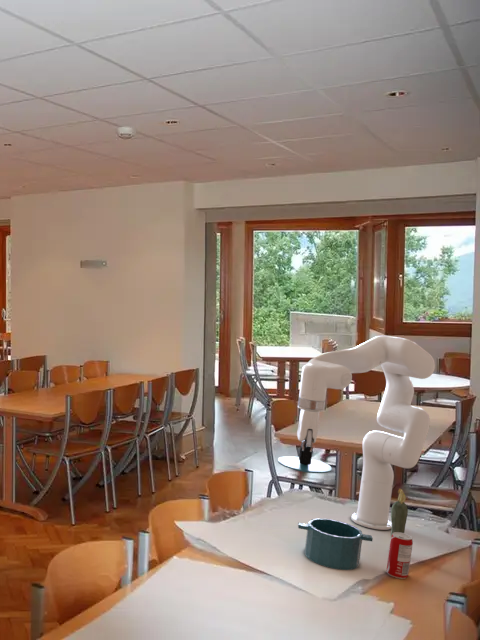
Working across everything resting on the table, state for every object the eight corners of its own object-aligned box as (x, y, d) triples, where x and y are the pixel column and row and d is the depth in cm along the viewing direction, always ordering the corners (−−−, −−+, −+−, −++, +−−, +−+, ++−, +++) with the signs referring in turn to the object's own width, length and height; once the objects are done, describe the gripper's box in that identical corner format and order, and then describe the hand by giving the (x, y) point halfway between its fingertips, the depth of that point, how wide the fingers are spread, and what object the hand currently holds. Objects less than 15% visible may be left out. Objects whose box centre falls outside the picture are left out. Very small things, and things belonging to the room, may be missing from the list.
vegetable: (403, 556, 226) (412, 493, 224) (388, 554, 227) (396, 491, 224) (399, 550, 230) (407, 488, 228) (384, 548, 231) (392, 486, 229)
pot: (294, 543, 230) (297, 513, 229) (365, 556, 224) (368, 526, 223) (296, 561, 217) (300, 530, 216) (372, 576, 210) (376, 543, 209)
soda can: (390, 569, 216) (395, 529, 215) (410, 576, 212) (416, 535, 211) (383, 574, 212) (388, 533, 211) (404, 581, 208) (409, 540, 207)
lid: (276, 456, 241) (278, 436, 240) (328, 464, 236) (331, 444, 236) (278, 470, 226) (280, 449, 225) (334, 478, 221) (336, 456, 221)
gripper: (296, 397, 238) (290, 453, 240) (300, 408, 222) (293, 467, 225) (322, 401, 235) (315, 457, 238) (327, 411, 220) (320, 471, 222)
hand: (304, 461), depth 231 cm, fingers closed on lid, 2 cm apart
